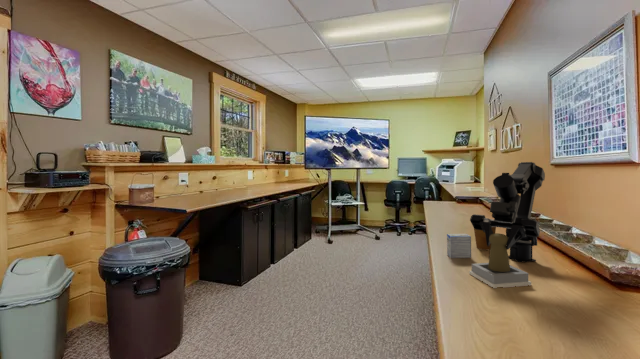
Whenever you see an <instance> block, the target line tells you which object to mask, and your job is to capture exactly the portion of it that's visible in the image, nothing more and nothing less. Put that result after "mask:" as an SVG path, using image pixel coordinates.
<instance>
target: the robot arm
mask: <svg viewBox="0 0 640 359" xmlns="http://www.w3.org/2000/svg"><path fill="white" fill-rule="evenodd" d="M545 178H546V172H545V171H544V168H543V167H540V166H539V165H537V164H536V162H533V161H521V162H519V163H518V164H517V167H516V169H515V170H514V171H513V172H512V174H510V172H502V174H500V175H497V176H496V177H495V178H494V179H493V180H492V185H493V187H494V190H495V192H496V195H497V197H498V198H499V201H491V203H490V209H489V212H490V213H491V217H492V218H486V215H485V214H474V213H473V214H472V215H471V216H470V218H469V221H470V223H471V225H472V227H473V230H474V229H476V230H483V232H485V235H486V243H487V246H489V245H490V241H489V237H490V235H491V234H493V231H492V226H495V227H496V228H502V229H505V235H506V236H507V237H508V241H507V245H506V249H507V251H508V250H509V255H508V259H511V260H513V261H516V262H519V263H529V262H531V263H532V262H536V261H537V260H536V259H534V258H533V247H535V246H537V247H538V237H540V231H541V228H540V225H539V222H538V221H537V220H536V219H531V216H532V212H533V211H532V210H533V206H534V201H535V196H536V191H537V190H539V189H540V188H542V186H543V182H544V181H545ZM493 218H494V219H493ZM490 219H493V220H490Z"/></svg>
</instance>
